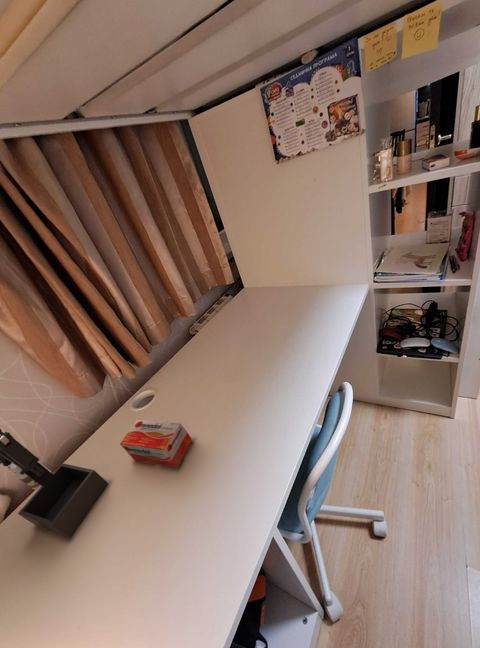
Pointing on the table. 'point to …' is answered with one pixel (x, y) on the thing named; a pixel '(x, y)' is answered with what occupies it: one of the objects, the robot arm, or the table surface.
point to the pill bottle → (25, 476)
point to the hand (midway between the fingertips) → (41, 479)
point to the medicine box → (157, 442)
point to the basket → (65, 499)
